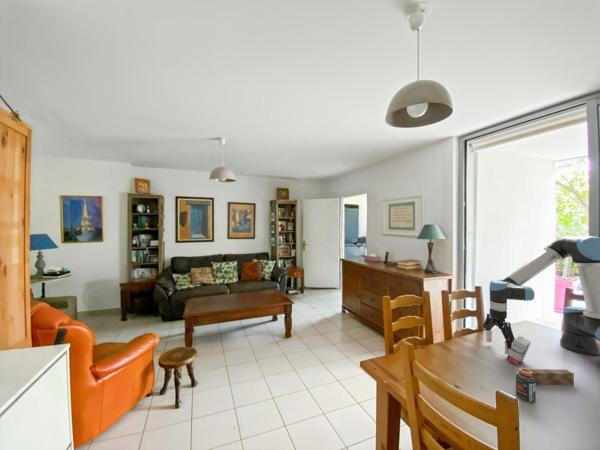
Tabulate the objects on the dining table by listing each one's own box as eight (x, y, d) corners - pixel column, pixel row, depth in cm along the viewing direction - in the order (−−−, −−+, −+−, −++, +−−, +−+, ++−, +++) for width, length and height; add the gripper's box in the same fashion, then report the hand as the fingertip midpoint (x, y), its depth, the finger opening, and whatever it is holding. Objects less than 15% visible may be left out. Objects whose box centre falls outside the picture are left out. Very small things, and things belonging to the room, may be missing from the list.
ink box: (517, 366, 122) (525, 345, 120) (505, 359, 126) (513, 339, 124) (523, 361, 127) (531, 341, 124) (511, 354, 131) (519, 335, 128)
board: (566, 380, 111) (566, 369, 111) (573, 385, 108) (573, 373, 108) (523, 380, 111) (523, 369, 111) (529, 384, 108) (529, 373, 108)
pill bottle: (511, 393, 102) (511, 366, 102) (525, 392, 103) (524, 365, 103) (526, 404, 96) (525, 374, 96) (540, 403, 97) (539, 374, 97)
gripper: (475, 302, 150) (475, 337, 150) (509, 317, 125) (509, 359, 125) (488, 302, 149) (488, 337, 149) (524, 317, 125) (524, 359, 125)
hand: (497, 347), depth 137 cm, fingers open, 13 cm apart
